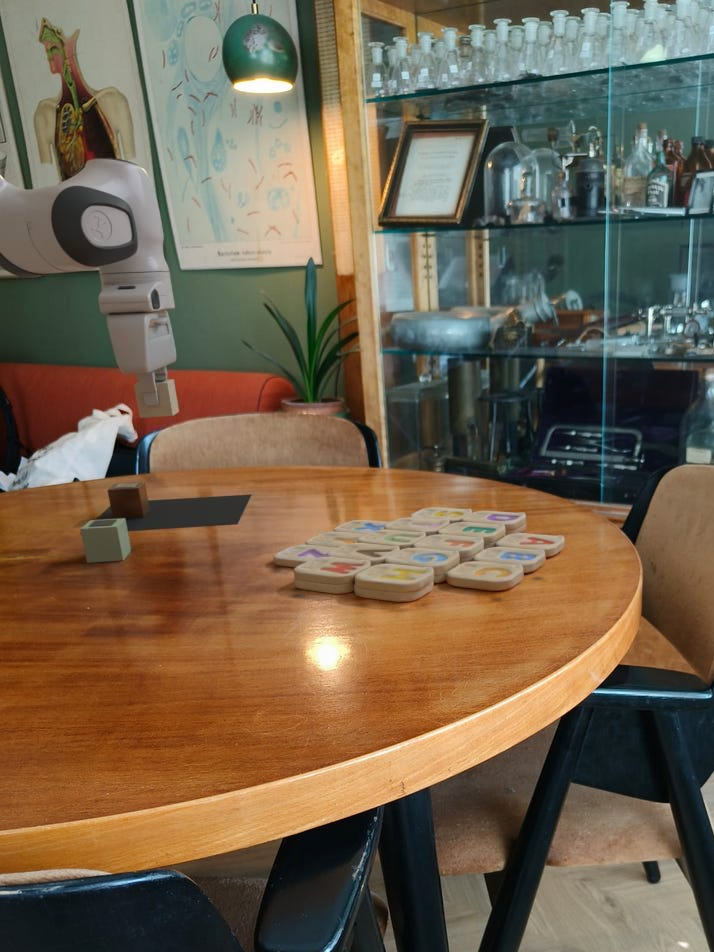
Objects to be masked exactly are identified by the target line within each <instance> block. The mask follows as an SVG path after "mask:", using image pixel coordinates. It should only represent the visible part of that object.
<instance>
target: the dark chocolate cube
mask: <svg viewBox="0 0 714 952" xmlns="http://www.w3.org/2000/svg"><path fill="white" fill-rule="evenodd" d="M147 491H148V490H147V485H146V482H145V481H141V482H140V481H139V482H123V483H121V482H120V483H114V484H113V485H111V486H110V487H109V488H108V489H107V495H108V501H109V505H110V506H111V511H112V517H113V519H121V518H125V519H128V518H144V517H145V516H146V514H147V513H148V512H149V511H150V508H149V502H148V500H149V497H148V492H147ZM110 506H109V507H110Z"/></svg>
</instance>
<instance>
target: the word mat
mask: <svg viewBox="0 0 714 952" xmlns="http://www.w3.org/2000/svg"><path fill="white" fill-rule="evenodd" d="M252 495H253V494H234V495H219V496H201V497H200V496H199V497H185V498H168V499H167V498H165V499H148V502H149V508H150V511H149V512H148V513H147V514H146V516H145V517H144V518H128V519H126V525H127V530H128V532H136V531H137V532H139V531H154V530H171V529H186V528H187V529H189V528H201V527H204V528H205V527H217V526H234V525H235V526H236V525H239V522H240V521H241V518H242V516H243V514H244V512H245V510H246V508H247V506H248V503H249V502H250V499H251V498H252ZM104 519H113V517H112V511H111V506H109V507H107V508H106V509H105V510H104V511H103V512H102V513H100V515H99V516H98V517H96V518H95V519H94V520H104ZM79 535H81V532H80V533H79Z"/></svg>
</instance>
